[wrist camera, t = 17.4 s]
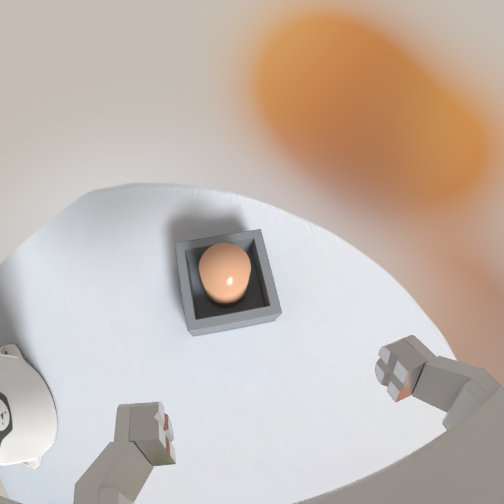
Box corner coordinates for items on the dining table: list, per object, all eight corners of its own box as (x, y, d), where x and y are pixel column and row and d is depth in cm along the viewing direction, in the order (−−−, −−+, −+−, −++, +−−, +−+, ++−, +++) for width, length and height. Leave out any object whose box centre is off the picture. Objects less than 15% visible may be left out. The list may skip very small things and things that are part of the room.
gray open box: (193, 336, 33) (187, 330, 29) (181, 259, 37) (174, 243, 33) (274, 320, 35) (281, 312, 30) (256, 246, 39) (260, 229, 34)
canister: (209, 311, 34) (203, 296, 27) (201, 272, 36) (195, 247, 29) (250, 303, 35) (256, 286, 28) (241, 264, 36) (244, 238, 29)
